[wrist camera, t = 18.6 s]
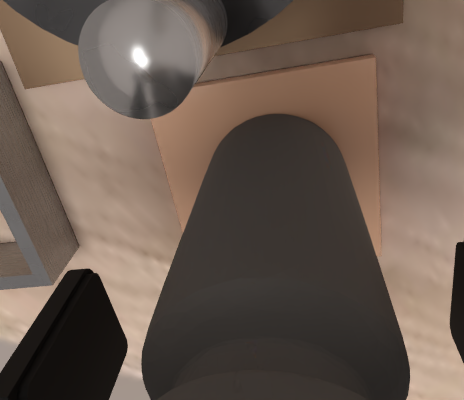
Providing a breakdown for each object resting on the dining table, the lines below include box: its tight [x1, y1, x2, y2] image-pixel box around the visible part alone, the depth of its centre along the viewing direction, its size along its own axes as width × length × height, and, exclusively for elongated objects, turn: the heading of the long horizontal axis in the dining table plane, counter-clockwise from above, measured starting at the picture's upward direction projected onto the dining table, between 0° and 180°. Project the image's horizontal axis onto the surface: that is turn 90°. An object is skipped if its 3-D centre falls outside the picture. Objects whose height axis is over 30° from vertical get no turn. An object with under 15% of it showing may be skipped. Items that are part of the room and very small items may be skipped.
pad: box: [151, 54, 381, 256], centre depth 19 cm, size 9×9×1 cm
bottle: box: [141, 114, 410, 400], centre depth 12 cm, size 6×6×15 cm
